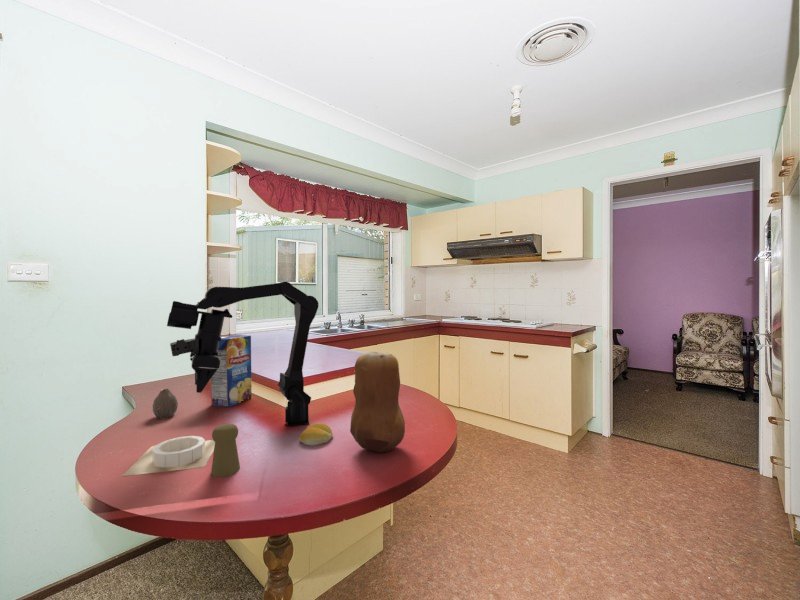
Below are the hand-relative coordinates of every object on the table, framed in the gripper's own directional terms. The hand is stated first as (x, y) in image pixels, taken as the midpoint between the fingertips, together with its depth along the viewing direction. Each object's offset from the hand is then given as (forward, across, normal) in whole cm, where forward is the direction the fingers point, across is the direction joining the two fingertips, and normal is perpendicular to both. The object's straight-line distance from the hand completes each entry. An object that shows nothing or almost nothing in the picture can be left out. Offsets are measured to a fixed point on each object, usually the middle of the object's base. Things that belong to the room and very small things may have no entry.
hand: (197, 388), depth 99 cm
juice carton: (+12, -35, +15) cm, 40 cm away
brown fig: (+16, -28, -5) cm, 33 cm away
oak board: (+15, +10, -2) cm, 18 cm away
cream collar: (+14, +12, -2) cm, 18 cm away
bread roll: (+9, +16, +30) cm, 35 cm away
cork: (+13, +24, +7) cm, 29 cm away
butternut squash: (+7, +31, +41) cm, 52 cm away
